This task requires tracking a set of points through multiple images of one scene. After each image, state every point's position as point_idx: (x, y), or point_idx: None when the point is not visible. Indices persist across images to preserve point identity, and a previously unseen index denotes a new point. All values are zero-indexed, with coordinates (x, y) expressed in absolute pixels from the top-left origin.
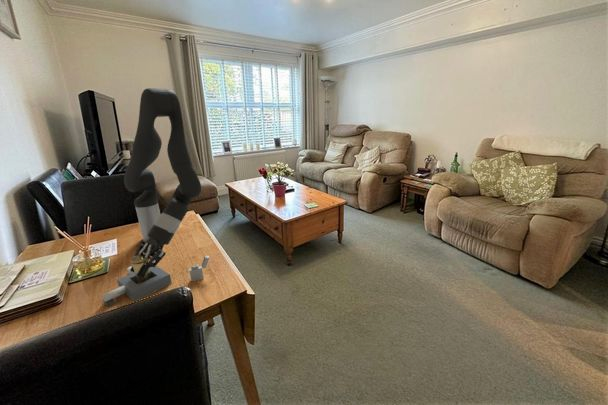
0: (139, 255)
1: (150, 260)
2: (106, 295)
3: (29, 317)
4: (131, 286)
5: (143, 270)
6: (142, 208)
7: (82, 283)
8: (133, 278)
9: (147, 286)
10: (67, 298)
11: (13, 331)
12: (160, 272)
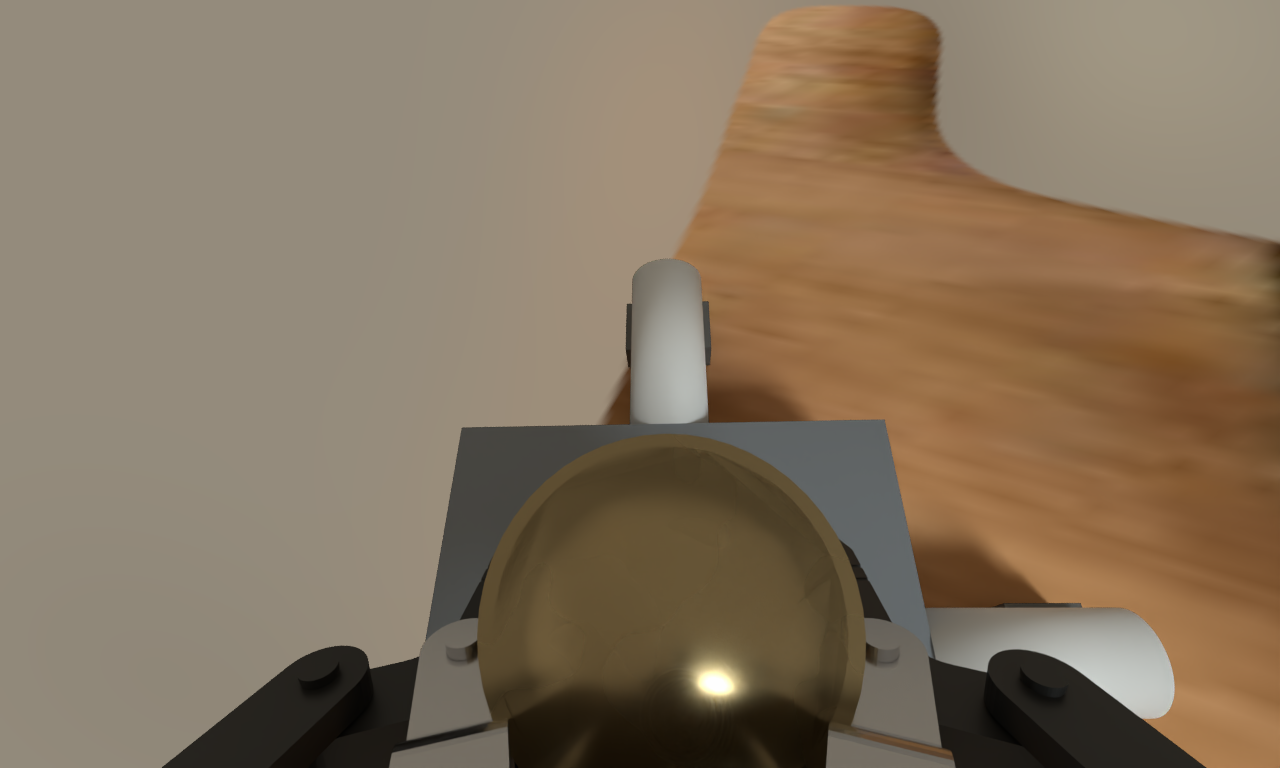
0: (800, 686)
1: (255, 742)
2: (645, 280)
3: (920, 61)
4: None
5: (475, 592)
6: None
7: (1221, 294)
8: None
9: (439, 590)
10: (1007, 192)
11: (831, 21)
12: None
